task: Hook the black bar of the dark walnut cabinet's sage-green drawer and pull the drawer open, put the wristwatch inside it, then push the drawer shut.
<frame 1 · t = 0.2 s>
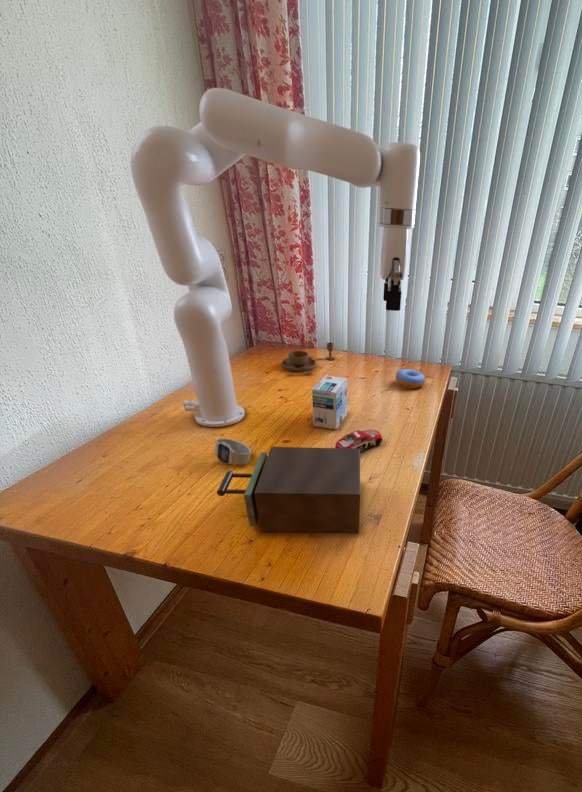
hand: (391, 305, 90), 31 cm above the table, tool pointing down, fingers open, 9 cm apart
doughnut: (409, 385, 131), on the table
light bulb box: (331, 420, 107), on the table
race car: (359, 447, 96), on the table
cabinet: (314, 506, 76), on the table
place setting: (310, 366, 140), on the table
drawer: (283, 487, 73), point 5 cm above the table, slide at 0.8 cm
wristwatch: (234, 458, 89), on the table
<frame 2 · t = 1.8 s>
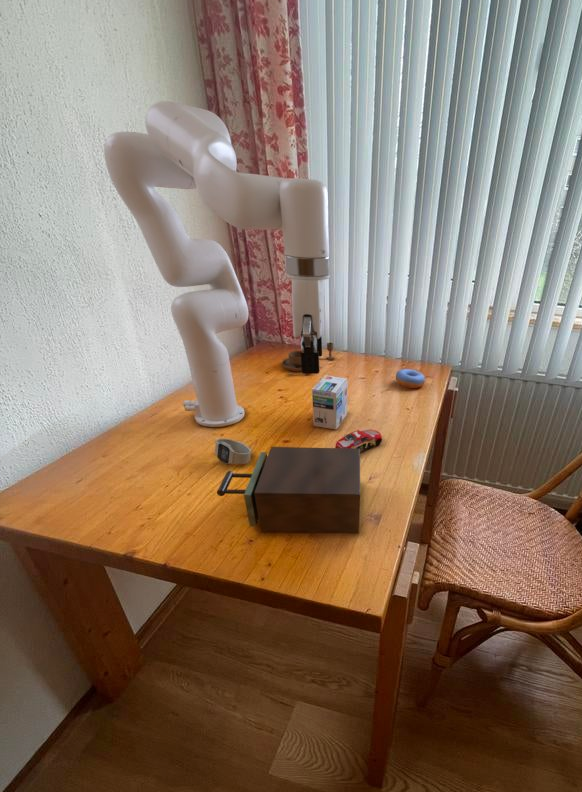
hand: (312, 363, 76), 24 cm above the table, tool pointing down, fingers open, 9 cm apart
nothing on the table moved.
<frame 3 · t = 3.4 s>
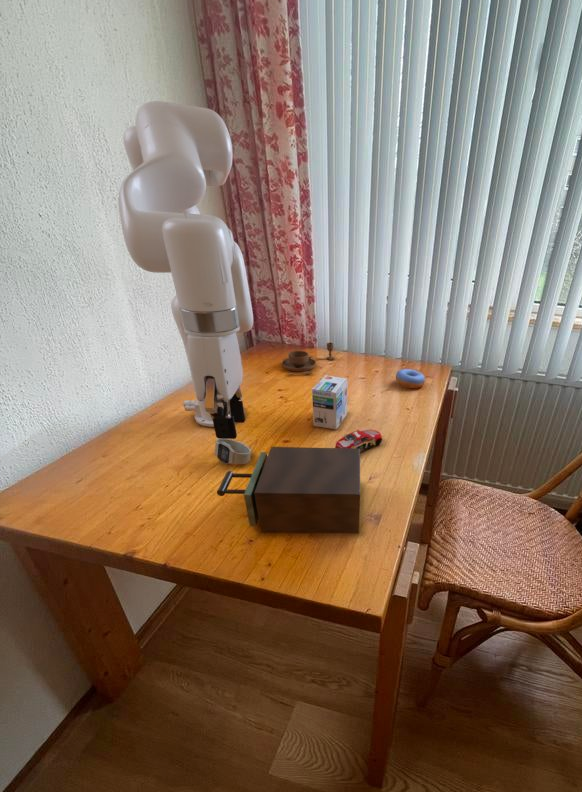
hand: (231, 428, 66), 17 cm above the table, tool pointing down, fingers open, 4 cm apart
nothing on the table moved.
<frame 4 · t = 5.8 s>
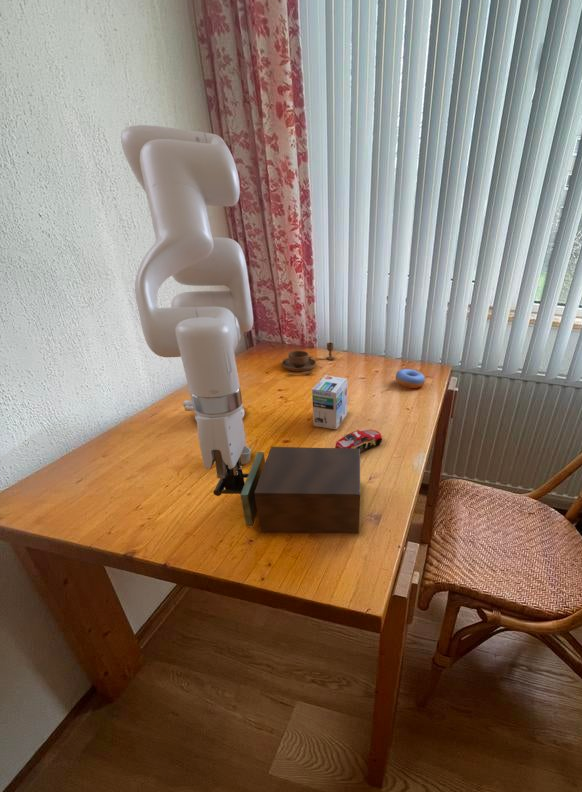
hand: (235, 488, 73), 5 cm above the table, tool pointing down, fingers closed
drawer: (280, 487, 73), point 5 cm above the table, slide at 1.4 cm, touching gripper
everything else where it was.
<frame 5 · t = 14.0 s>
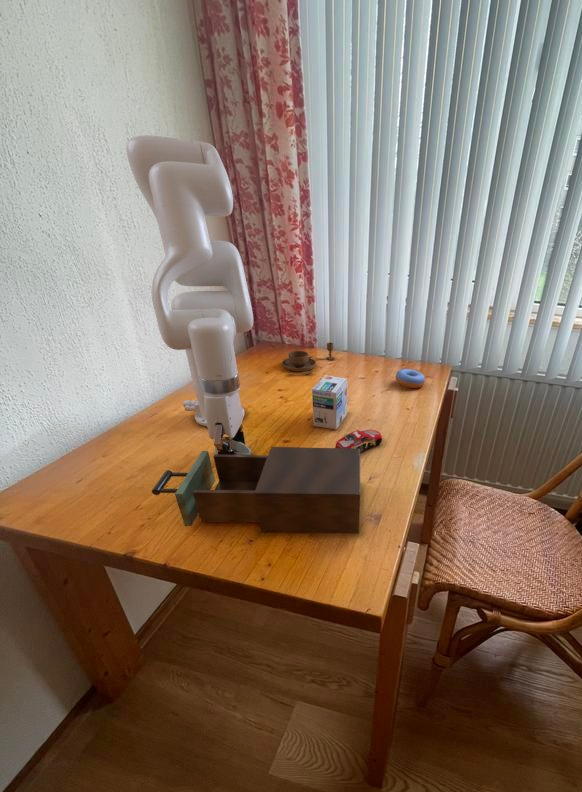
hand: (233, 454, 88), 1 cm above the table, tool pointing down, fingers closed on wristwatch, 7 cm apart
drawer: (222, 487, 72), point 5 cm above the table, slide at 12.2 cm
wristwatch: (234, 458, 89), on the table, touching gripper
everything else where it was.
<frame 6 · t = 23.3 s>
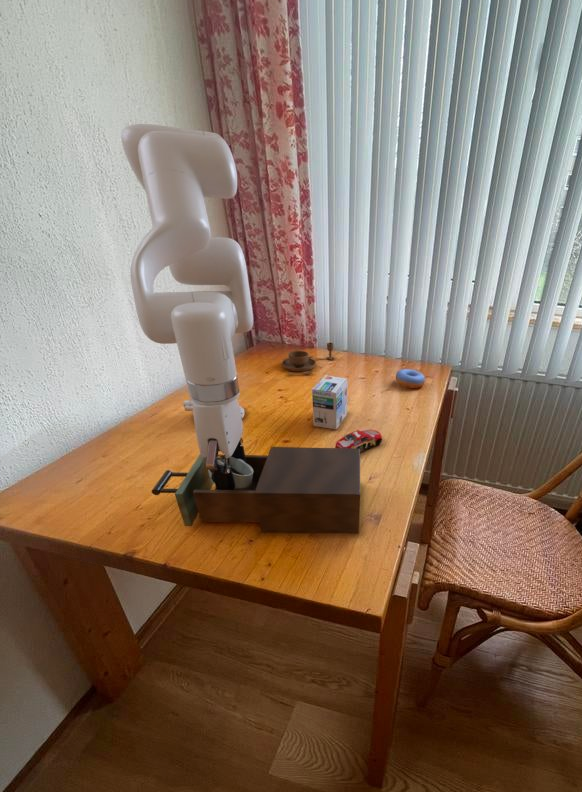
hand: (232, 475, 71), 7 cm above the table, tool pointing down, fingers closed on wristwatch, 7 cm apart
wristwatch: (232, 479, 72), point 6 cm above the table, touching gripper
everything else where it was.
when the fingers open (8 cm above the table, at t = 33.1 s): wristwatch drops 5 cm, resting on drawer.
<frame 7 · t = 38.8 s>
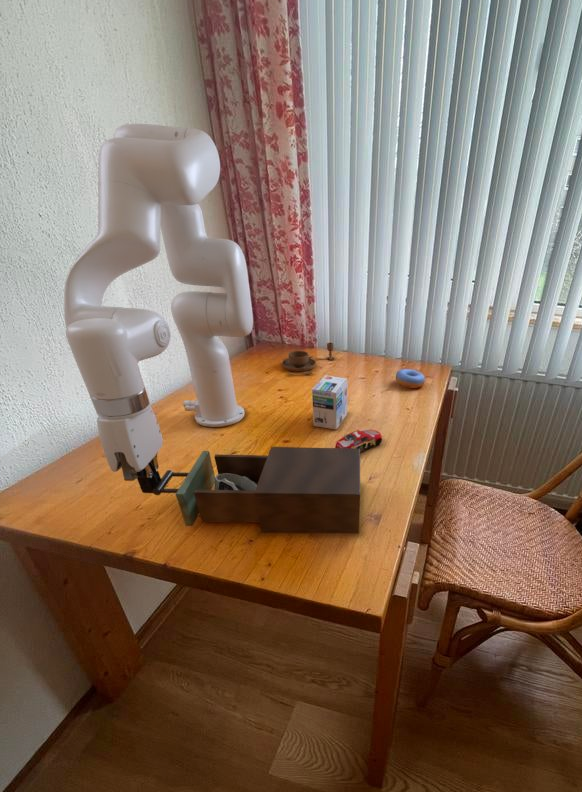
hand: (153, 490, 72), 4 cm above the table, tool pointing down, fingers closed
drawer: (223, 487, 72), point 5 cm above the table, slide at 12.0 cm, touching gripper, wristwatch
wristwatch: (238, 496, 75), point 2 cm above the table, touching drawer
everything else where it was.
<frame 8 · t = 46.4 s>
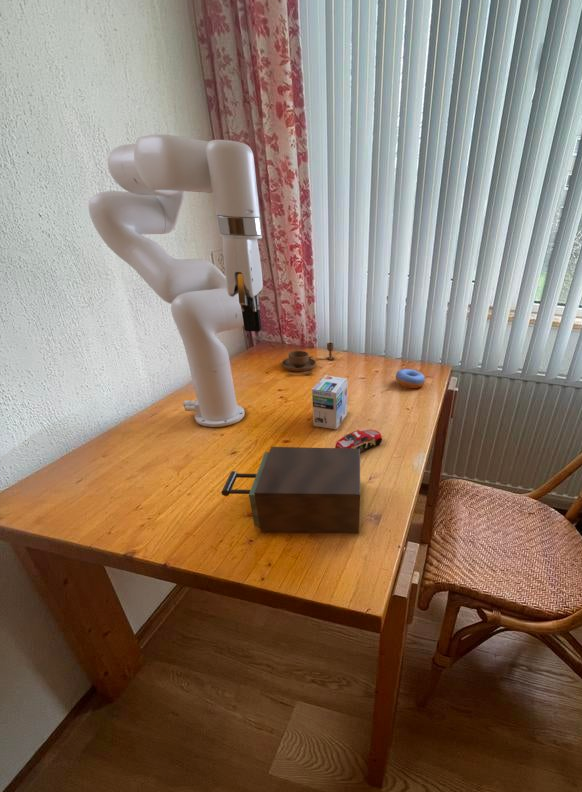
hand: (253, 330, 81), 27 cm above the table, tool pointing down, fingers closed
drawer: (287, 487, 73), point 5 cm above the table, slide at 0.0 cm, touching wristwatch
wristwatch: (301, 497, 75), point 2 cm above the table, touching drawer
everything else where it was.
at the end: drawer pulled out 12.5 cm at the most during the clip, back to where it started at the end; wristwatch inside the target area in the cabinet (2.6 cm from its centre), point 1.9 cm above the cabinet's base; drawer slide at 0.0 cm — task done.
